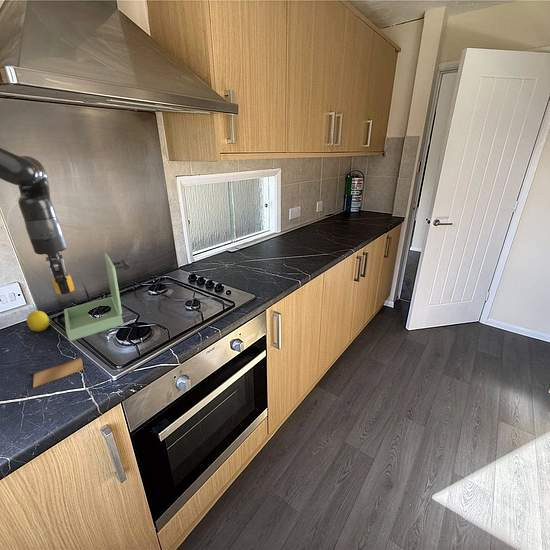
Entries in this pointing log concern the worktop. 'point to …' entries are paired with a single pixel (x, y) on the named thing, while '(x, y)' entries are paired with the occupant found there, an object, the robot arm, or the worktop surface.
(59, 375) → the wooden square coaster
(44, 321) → the lemon
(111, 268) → the lid
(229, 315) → the worktop surface
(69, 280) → the pod
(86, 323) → the box
